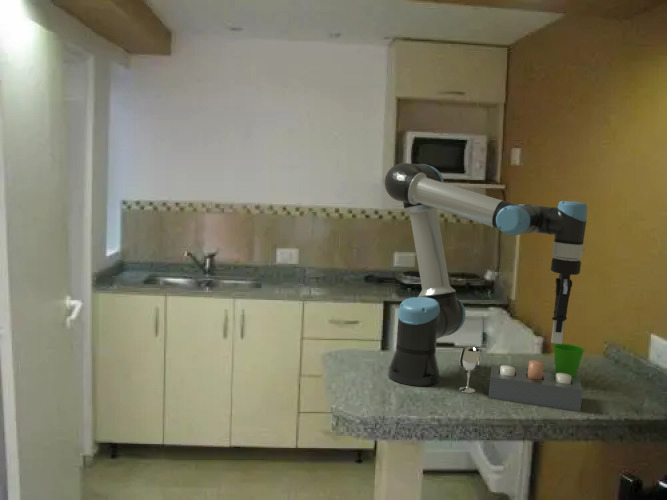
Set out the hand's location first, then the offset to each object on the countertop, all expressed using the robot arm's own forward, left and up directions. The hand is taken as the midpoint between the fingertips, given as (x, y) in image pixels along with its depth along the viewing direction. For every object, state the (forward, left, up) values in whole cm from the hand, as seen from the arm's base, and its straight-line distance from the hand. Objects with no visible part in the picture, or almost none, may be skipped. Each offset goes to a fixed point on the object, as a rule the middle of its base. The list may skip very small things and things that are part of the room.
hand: (556, 342), depth 179 cm
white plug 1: (-12, 0, -16) cm, 20 cm away
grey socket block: (-5, 0, -16) cm, 17 cm away
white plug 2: (+3, 0, -16) cm, 16 cm away
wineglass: (-23, -2, -17) cm, 28 cm away
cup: (+5, +19, -17) cm, 26 cm away
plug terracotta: (-5, 0, -13) cm, 14 cm away
